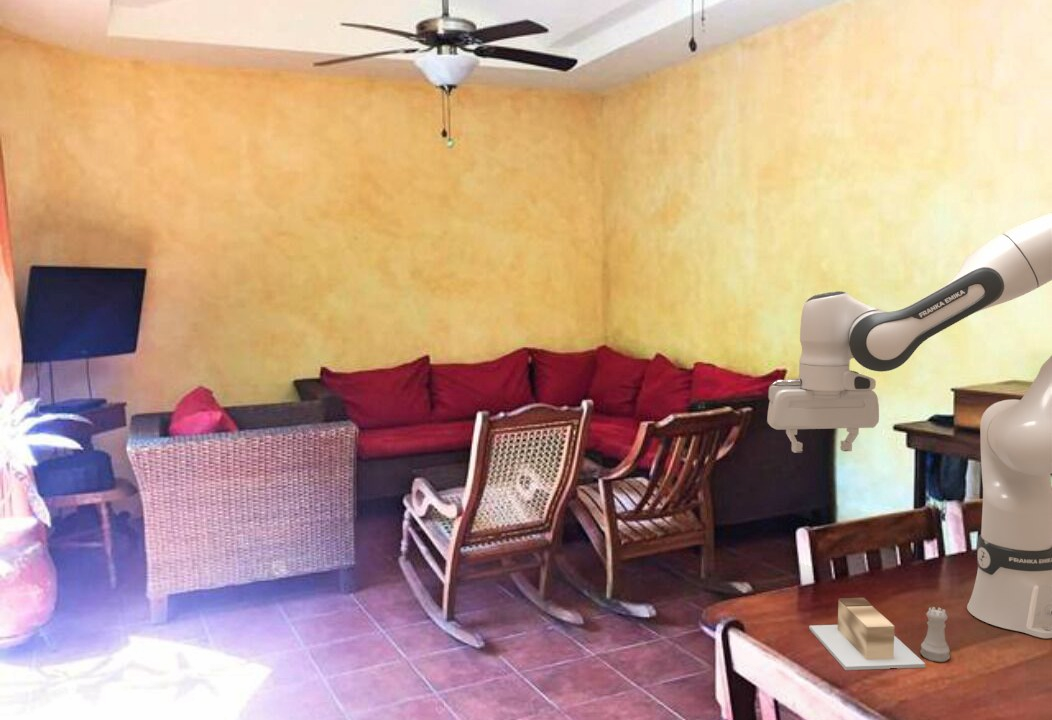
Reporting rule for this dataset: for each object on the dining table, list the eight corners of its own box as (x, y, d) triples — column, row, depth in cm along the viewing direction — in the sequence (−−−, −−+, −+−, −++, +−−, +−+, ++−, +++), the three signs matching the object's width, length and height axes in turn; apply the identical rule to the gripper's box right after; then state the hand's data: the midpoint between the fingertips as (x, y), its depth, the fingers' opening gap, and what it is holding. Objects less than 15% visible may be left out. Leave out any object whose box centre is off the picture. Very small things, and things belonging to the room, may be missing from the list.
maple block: (893, 658, 133) (894, 625, 133) (866, 659, 133) (867, 625, 132) (862, 628, 144) (863, 597, 143) (837, 629, 144) (838, 598, 143)
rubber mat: (880, 626, 146) (881, 623, 146) (925, 667, 131) (925, 663, 131) (809, 628, 146) (809, 625, 146) (845, 670, 131) (845, 666, 131)
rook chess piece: (953, 664, 132) (956, 616, 131) (923, 661, 133) (926, 614, 132) (945, 651, 137) (947, 605, 136) (916, 649, 138) (918, 603, 137)
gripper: (774, 382, 150) (772, 456, 151) (884, 380, 151) (881, 454, 152) (763, 377, 156) (761, 448, 158) (868, 375, 157) (866, 446, 159)
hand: (821, 451), depth 155 cm, fingers open, 8 cm apart
